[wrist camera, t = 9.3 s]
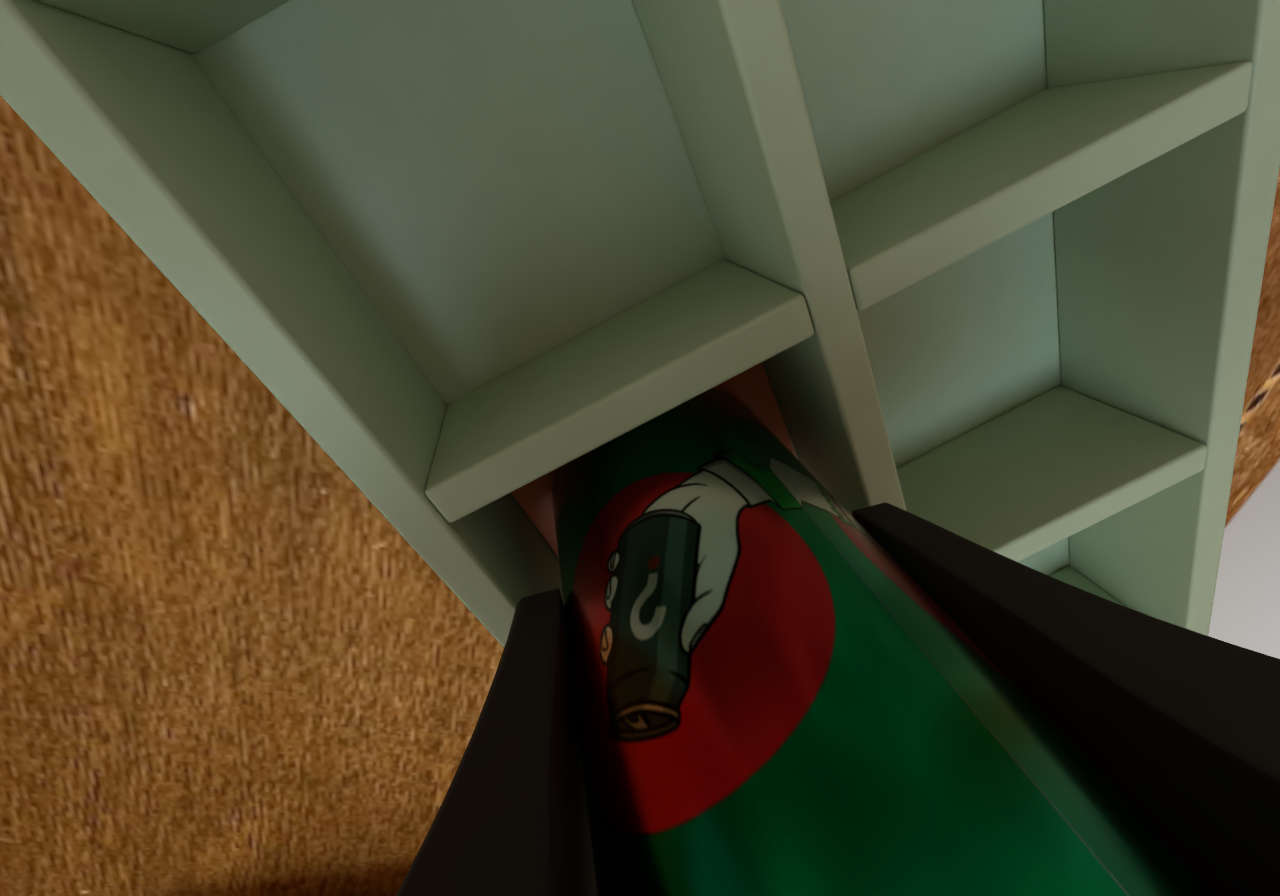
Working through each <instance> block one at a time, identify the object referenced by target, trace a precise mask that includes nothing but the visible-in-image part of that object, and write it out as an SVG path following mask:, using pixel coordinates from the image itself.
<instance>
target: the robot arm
mask: <svg viewBox="0 0 1280 896" xmlns="http://www.w3.org/2000/svg"><path fill="white" fill-rule="evenodd" d="M852 517H853V518H854V519H855V520H856V521H857V522H858V523H859V524H860V525H861V526H862V527H863V528H864V529H865V530H866V531H867V532H868V533H869V534H870V535H871V536H872V537H873V538H874V539H875V541H876V542H877V543H878V544H879V545H880V546H881V547H882V548H883V549H884V550H885V551H886V552H887V553H888V554H889V555H890V556H891V557H892V558H893V559H894V560H895V561H896V562H897V564H898V565H899V566H900V567H901V568H902V569H903V570H904V571H905V572H906V573H907V574H908V575H909V576H910V577H911V578H912V579H913V580H914V581H915V582H916V583H917V584H918V585H919V586H920V588H921V589H922V590H923V591H924V592H925V593H926V594H927V595H928V596H929V597H930V598H931V599H932V600H933V601H934V602H935V603H936V604H937V605H938V606H939V607H940V608H941V609H942V610H943V612H944V613H945V614H946V615H947V616H948V617H949V618H950V619H951V620H952V621H953V622H954V623H955V624H956V625H957V626H958V627H959V628H960V629H961V630H962V631H963V632H964V633H965V635H966V636H967V637H968V638H969V639H970V640H971V641H972V642H973V643H974V644H975V645H976V646H977V647H978V648H979V649H980V650H981V651H982V652H983V653H984V654H985V655H986V656H987V657H988V659H989V660H990V661H991V662H992V663H993V664H994V665H995V666H996V667H997V668H998V669H999V670H1000V671H1001V672H1002V673H1003V674H1004V675H1005V676H1006V677H1007V678H1008V679H1009V680H1010V681H1011V683H1012V684H1013V685H1014V686H1015V687H1016V688H1017V689H1018V690H1019V691H1020V692H1021V693H1022V694H1023V695H1024V696H1025V697H1026V698H1027V699H1028V700H1029V701H1030V702H1031V703H1032V704H1033V706H1034V707H1035V708H1036V709H1037V710H1038V711H1039V712H1040V713H1041V714H1042V715H1043V716H1044V717H1045V718H1046V719H1047V720H1048V721H1049V722H1050V723H1051V724H1052V725H1053V726H1054V727H1055V728H1056V730H1057V731H1058V732H1059V733H1060V734H1061V735H1062V736H1063V737H1064V738H1065V739H1066V740H1067V741H1068V742H1069V743H1070V744H1071V745H1072V746H1073V747H1074V748H1075V749H1076V750H1077V751H1078V752H1079V754H1080V755H1081V756H1082V757H1083V758H1084V759H1085V760H1086V761H1087V762H1088V763H1089V764H1090V765H1091V766H1092V767H1093V768H1094V769H1095V770H1096V771H1097V772H1098V773H1099V774H1100V775H1101V777H1102V778H1103V779H1104V780H1105V781H1106V782H1107V783H1108V784H1109V785H1110V786H1111V787H1112V788H1113V789H1114V790H1115V791H1116V792H1117V793H1118V794H1119V795H1120V796H1121V797H1122V798H1123V799H1124V801H1125V802H1126V803H1127V804H1128V805H1129V806H1130V807H1131V808H1132V809H1133V810H1134V811H1135V812H1136V813H1137V814H1138V815H1139V816H1140V817H1141V818H1142V819H1143V820H1144V821H1145V822H1146V823H1147V825H1148V826H1149V827H1150V828H1151V829H1152V830H1153V831H1154V832H1155V833H1156V834H1157V835H1158V836H1159V837H1160V838H1161V839H1162V840H1163V841H1164V842H1165V843H1166V844H1167V845H1168V846H1169V847H1170V849H1171V850H1172V851H1173V852H1174V853H1175V854H1176V855H1177V856H1178V857H1179V858H1180V859H1181V860H1182V861H1183V862H1184V863H1185V864H1186V865H1187V866H1188V867H1189V868H1190V869H1191V870H1192V872H1193V873H1194V874H1195V875H1196V876H1197V877H1198V878H1199V879H1200V880H1201V881H1202V882H1203V883H1204V884H1205V885H1206V886H1207V887H1208V888H1209V889H1210V890H1211V891H1212V892H1213V893H1214V894H1215V896H1280V659H1277V658H1274V657H1270V656H1267V655H1264V654H1261V653H1258V652H1255V651H1252V650H1248V649H1245V648H1242V647H1239V646H1236V645H1233V644H1230V643H1226V642H1224V641H1221V640H1218V639H1215V638H1212V637H1209V636H1206V635H1203V634H1200V633H1197V632H1195V631H1192V630H1189V629H1186V628H1183V627H1180V626H1177V625H1174V624H1171V623H1169V622H1166V621H1163V620H1160V619H1157V618H1154V617H1151V616H1149V615H1146V614H1143V613H1141V612H1138V611H1135V610H1133V609H1130V608H1127V607H1125V606H1122V605H1119V604H1117V603H1114V602H1112V601H1109V600H1107V599H1104V598H1102V597H1099V596H1097V595H1094V594H1092V593H1089V592H1087V591H1084V590H1082V589H1079V588H1077V587H1075V586H1072V585H1070V584H1067V583H1065V582H1062V581H1060V580H1058V579H1055V578H1053V577H1051V576H1048V575H1046V574H1043V573H1041V572H1039V571H1036V570H1034V569H1032V568H1030V567H1027V566H1025V565H1023V564H1021V563H1018V562H1016V561H1014V560H1012V559H1009V558H1007V557H1005V556H1003V555H1000V554H998V553H996V552H994V551H992V550H989V549H987V548H985V547H983V546H981V545H979V544H976V543H974V542H972V541H970V540H968V539H966V538H964V537H961V536H959V535H957V534H955V533H953V532H951V531H949V530H946V529H944V528H942V527H940V526H938V525H936V524H934V523H931V522H929V521H927V520H925V519H923V518H921V517H918V516H916V515H914V514H912V513H910V512H907V511H905V510H903V509H901V508H898V507H896V506H894V505H891V504H889V503H886V502H884V503H880V504H877V505H873V506H869V507H865V508H861V509H858V510H854V511H852ZM396 896H598V895H597V886H596V878H595V869H594V860H593V852H592V843H591V834H590V826H589V817H588V808H587V800H586V791H585V782H584V774H583V765H582V756H581V748H580V739H579V730H578V722H577V713H576V704H575V695H574V685H573V675H572V664H571V655H570V646H569V638H568V629H567V621H566V612H565V607H564V603H563V600H562V597H561V594H560V590H559V588H557V589H553V590H550V591H546V592H542V593H538V594H534V595H531V596H527V597H523V598H521V599H520V601H519V602H518V604H517V605H516V609H515V613H514V617H513V621H512V624H511V628H510V631H509V635H508V638H507V641H506V644H505V647H504V651H503V654H502V657H501V660H500V663H499V665H498V668H497V671H496V674H495V677H494V680H493V682H492V685H491V688H490V690H489V693H488V696H487V698H486V701H485V704H484V706H483V709H482V712H481V714H480V717H479V720H478V722H477V725H476V727H475V730H474V732H473V735H472V737H471V739H470V742H469V744H468V746H467V748H466V751H465V753H464V755H463V758H462V760H461V762H460V765H459V767H458V769H457V771H456V774H455V776H454V778H453V781H452V783H451V785H450V787H449V790H448V792H447V794H446V796H445V799H444V801H443V803H442V805H441V807H440V809H439V811H438V813H437V815H436V817H435V820H434V822H433V824H432V826H431V828H430V830H429V832H428V834H427V836H426V838H425V840H424V842H423V844H422V846H421V848H420V850H419V852H418V854H417V856H416V858H415V859H414V861H413V863H412V865H411V867H410V869H409V871H408V873H407V875H406V877H405V879H404V881H403V883H402V885H401V886H400V888H399V890H398V892H397V894H396Z"/></svg>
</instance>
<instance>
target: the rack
mask: <svg viewBox="0 0 1280 896" xmlns="http://www.w3.org/2000/svg"><path fill="white" fill-rule="evenodd" d="M0 95H1V96H2V97H3V98H4V99H5V101H6V102H7V103H8V104H9V105H10V106H11V107H12V108H13V109H14V110H15V112H16V113H17V114H18V115H19V116H20V117H21V118H22V119H23V120H24V121H25V123H26V124H27V125H28V126H29V127H30V128H31V129H32V130H33V131H34V132H35V134H36V135H37V136H38V137H39V138H40V139H41V140H42V141H43V142H44V143H45V145H46V146H47V147H48V148H49V149H50V150H51V151H52V152H53V153H54V154H55V155H56V157H57V158H58V159H59V160H60V161H61V162H62V163H63V164H64V165H65V166H66V168H67V169H68V170H69V171H70V172H71V173H72V174H73V175H74V176H75V177H76V179H77V180H78V181H79V182H80V183H81V184H82V185H83V186H84V187H85V188H86V190H87V191H88V192H89V193H90V194H91V195H92V196H93V197H94V198H95V199H96V200H97V202H98V203H99V204H100V205H101V206H102V207H103V208H104V209H105V210H106V211H107V213H108V214H109V215H110V216H111V217H112V218H113V219H114V220H115V221H116V222H117V224H118V225H119V226H120V227H121V228H122V229H123V230H124V231H125V232H126V233H127V235H128V236H129V237H130V238H131V239H132V240H133V241H134V242H135V243H136V244H137V245H138V247H139V248H140V249H141V250H142V251H143V252H144V253H145V254H146V255H147V256H148V258H149V259H150V260H151V261H152V262H153V263H154V264H155V265H156V266H157V267H158V269H159V270H160V271H161V272H162V273H163V274H164V275H165V276H166V277H167V278H168V280H169V281H170V282H171V283H172V284H173V285H174V286H175V287H176V288H177V289H178V291H179V292H180V293H181V294H182V295H183V296H184V297H185V298H186V299H187V300H188V301H189V303H190V304H191V305H192V306H193V307H194V308H195V309H196V310H197V311H198V312H199V314H200V315H201V316H202V317H203V318H204V319H205V320H206V321H207V322H208V323H209V325H210V326H211V327H212V328H213V329H214V330H215V331H216V332H217V333H218V334H219V336H220V337H221V338H222V339H223V340H224V341H225V342H226V343H227V344H228V345H229V346H230V348H231V349H232V350H233V351H234V352H235V353H236V354H237V355H238V356H239V357H240V359H241V360H242V361H243V362H244V363H245V364H246V365H247V366H248V367H249V368H250V370H251V371H252V372H253V373H254V374H255V375H256V376H257V377H258V378H259V379H260V381H261V382H262V383H263V384H264V385H265V386H266V387H267V388H268V389H269V390H270V391H271V393H272V394H273V395H274V396H275V397H276V398H277V399H278V400H279V401H280V402H281V404H282V405H283V406H284V407H285V408H286V409H287V410H288V411H289V412H290V413H291V415H292V416H293V417H294V418H295V419H296V420H297V421H298V422H299V423H300V424H301V426H302V427H303V428H304V429H305V430H306V431H307V432H308V433H309V434H310V435H311V437H312V438H313V439H314V440H315V441H316V442H317V443H318V444H319V445H320V446H321V447H322V449H323V450H324V451H325V452H326V453H327V454H328V455H329V456H330V457H331V458H332V460H333V461H334V462H335V463H336V464H337V465H338V466H339V467H340V468H341V469H342V471H343V472H344V473H345V474H346V475H347V476H348V477H349V478H350V479H351V480H352V482H353V483H354V484H355V485H356V486H357V487H358V488H359V489H360V490H361V491H362V492H363V494H364V495H365V496H366V497H367V498H368V499H369V500H370V501H371V502H372V503H373V505H374V506H375V507H376V508H377V509H378V510H379V511H380V512H381V513H382V514H383V516H384V517H385V518H386V519H387V520H388V521H389V522H390V523H391V524H392V525H393V527H394V528H395V529H396V530H397V531H398V532H399V533H400V534H401V535H402V536H403V538H404V539H405V540H406V541H407V542H408V543H409V544H410V545H411V546H412V547H413V548H414V550H415V551H416V552H417V553H418V554H419V555H420V556H421V557H422V558H423V559H424V561H425V562H426V563H427V564H428V565H429V566H430V567H431V568H432V569H433V570H434V572H435V573H436V574H437V575H438V576H439V577H440V578H441V579H442V580H443V581H444V583H445V584H446V585H447V586H448V587H449V588H450V589H451V590H452V591H453V592H454V593H455V595H456V596H457V597H458V598H459V599H460V600H461V601H462V602H463V603H464V604H465V606H466V607H467V608H468V609H469V610H470V611H471V612H472V613H473V614H474V615H475V617H476V618H477V619H478V620H479V621H480V622H481V623H482V624H483V625H484V626H485V628H486V629H487V630H488V631H489V632H490V633H491V634H492V635H493V636H494V637H495V638H496V640H497V641H498V642H499V643H500V644H501V645H502V646H503V647H505V644H506V641H507V638H508V635H509V631H510V628H511V624H512V621H513V617H514V613H515V609H516V605H517V604H518V602H519V601H520V599H521V598H523V597H527V596H531V595H534V594H538V593H542V592H546V591H550V590H553V589H557V588H559V590H560V594H561V597H562V600H563V592H562V583H561V575H560V566H559V557H558V549H557V540H556V531H555V523H554V514H553V502H552V490H553V481H554V476H555V473H556V469H557V468H559V467H560V466H562V465H564V464H566V463H568V462H570V461H572V460H574V459H576V458H578V457H580V456H582V455H584V454H586V453H587V452H589V451H591V450H593V449H595V448H597V447H599V446H601V445H603V444H605V443H607V442H609V441H611V440H612V439H614V438H616V437H618V436H620V435H622V434H624V433H626V432H628V431H630V430H632V429H634V428H636V427H638V426H639V425H641V424H643V423H645V422H647V421H649V420H651V419H653V418H655V417H657V416H659V415H661V414H663V413H665V412H666V411H668V410H670V409H672V408H674V407H676V406H678V405H680V404H682V403H684V402H686V401H688V400H690V399H692V398H693V397H695V396H697V395H699V394H701V393H703V392H705V391H707V390H709V389H711V388H714V389H717V390H720V391H722V392H724V393H726V394H728V395H730V396H733V397H734V398H736V399H737V400H738V401H740V402H741V403H743V404H744V405H746V406H747V407H748V408H749V409H750V410H751V411H752V412H753V413H754V414H755V415H756V416H757V417H758V418H759V419H760V420H761V422H762V423H763V424H764V425H765V426H766V427H767V428H768V429H769V430H770V431H771V432H772V433H773V434H774V435H775V436H776V437H777V438H778V439H779V440H780V441H781V442H782V443H783V444H784V446H785V447H786V448H787V449H788V450H789V451H790V452H791V453H792V454H793V455H794V456H795V457H796V458H797V459H798V460H799V461H800V462H801V463H802V464H803V465H804V466H805V467H806V468H807V470H808V471H809V472H810V473H811V474H812V475H813V476H814V477H815V478H816V479H817V480H818V481H819V482H820V483H821V484H822V485H823V486H824V487H825V488H826V489H827V490H828V491H829V493H830V494H831V495H832V496H833V497H834V498H835V499H836V500H837V501H838V502H839V503H840V504H841V505H842V506H843V507H844V508H845V509H846V510H847V511H848V512H849V513H850V514H851V515H852V511H854V510H858V509H861V508H865V507H869V506H873V505H877V504H880V503H884V502H886V503H889V504H891V505H894V506H896V507H898V508H901V509H903V510H905V511H907V512H910V513H912V514H914V515H916V516H918V517H921V518H923V519H925V520H927V521H929V522H931V523H934V524H936V525H938V526H940V527H942V528H944V529H946V530H949V531H951V532H953V533H955V534H957V535H959V536H961V537H964V538H966V539H968V540H970V541H972V542H974V543H976V544H979V545H981V546H983V547H985V548H987V549H989V550H992V551H994V552H996V553H998V554H1000V555H1003V556H1005V557H1007V558H1009V559H1012V560H1014V561H1016V562H1018V563H1021V564H1023V565H1025V566H1027V567H1030V568H1032V569H1034V570H1036V571H1039V572H1041V573H1043V574H1046V575H1048V576H1051V577H1053V578H1055V579H1058V580H1060V581H1062V582H1065V583H1067V584H1070V585H1072V586H1075V587H1077V588H1079V589H1082V590H1084V591H1087V592H1089V593H1092V594H1094V595H1097V596H1099V597H1102V598H1104V599H1107V600H1109V601H1112V602H1114V603H1117V604H1119V605H1122V606H1125V607H1127V608H1130V609H1133V610H1135V611H1138V612H1141V613H1143V614H1146V615H1149V616H1151V617H1154V618H1157V619H1160V620H1163V621H1166V622H1169V623H1171V624H1174V625H1177V626H1180V627H1183V628H1186V629H1189V630H1192V631H1195V632H1197V633H1200V634H1203V635H1206V636H1208V633H1209V625H1210V619H1211V613H1212V606H1213V600H1214V593H1215V587H1216V580H1217V574H1218V567H1219V561H1220V554H1221V548H1222V541H1223V535H1224V528H1225V522H1226V515H1227V508H1228V502H1229V495H1230V489H1231V482H1232V476H1233V469H1234V463H1235V456H1236V450H1237V443H1238V436H1239V430H1240V423H1241V417H1242V410H1243V404H1244V397H1245V391H1246V384H1247V377H1248V371H1249V364H1250V358H1251V351H1252V345H1253V338H1254V332H1255V325H1256V319H1257V312H1258V305H1259V299H1260V292H1261V286H1262V279H1263V273H1264V266H1265V260H1266V253H1267V246H1268V240H1269V233H1270V227H1271V220H1272V214H1273V207H1274V201H1275V194H1276V188H1277V181H1278V174H1279V168H1280V0H0ZM563 603H564V601H563Z"/></svg>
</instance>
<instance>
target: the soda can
mask: <svg viewBox="0 0 1280 896" xmlns="http://www.w3.org/2000/svg"><path fill="white" fill-rule="evenodd" d="M552 502H553V514H554V523H555V531H556V540H557V549H558V557H559V566H560V575H561V583H562V592H563V601H564V607H565V612H566V621H567V629H568V638H569V646H570V655H571V664H572V675H573V685H574V695H575V704H576V713H577V722H578V730H579V739H580V748H581V756H582V765H583V774H584V782H585V791H586V800H587V808H588V817H589V826H590V834H591V843H592V852H593V860H594V869H595V878H596V886H597V895H598V896H1215V894H1214V893H1213V892H1212V891H1211V890H1210V889H1209V888H1208V887H1207V886H1206V885H1205V884H1204V883H1203V882H1202V881H1201V880H1200V879H1199V878H1198V877H1197V876H1196V875H1195V874H1194V873H1193V872H1192V870H1191V869H1190V868H1189V867H1188V866H1187V865H1186V864H1185V863H1184V862H1183V861H1182V860H1181V859H1180V858H1179V857H1178V856H1177V855H1176V854H1175V853H1174V852H1173V851H1172V850H1171V849H1170V847H1169V846H1168V845H1167V844H1166V843H1165V842H1164V841H1163V840H1162V839H1161V838H1160V837H1159V836H1158V835H1157V834H1156V833H1155V832H1154V831H1153V830H1152V829H1151V828H1150V827H1149V826H1148V825H1147V823H1146V822H1145V821H1144V820H1143V819H1142V818H1141V817H1140V816H1139V815H1138V814H1137V813H1136V812H1135V811H1134V810H1133V809H1132V808H1131V807H1130V806H1129V805H1128V804H1127V803H1126V802H1125V801H1124V799H1123V798H1122V797H1121V796H1120V795H1119V794H1118V793H1117V792H1116V791H1115V790H1114V789H1113V788H1112V787H1111V786H1110V785H1109V784H1108V783H1107V782H1106V781H1105V780H1104V779H1103V778H1102V777H1101V775H1100V774H1099V773H1098V772H1097V771H1096V770H1095V769H1094V768H1093V767H1092V766H1091V765H1090V764H1089V763H1088V762H1087V761H1086V760H1085V759H1084V758H1083V757H1082V756H1081V755H1080V754H1079V752H1078V751H1077V750H1076V749H1075V748H1074V747H1073V746H1072V745H1071V744H1070V743H1069V742H1068V741H1067V740H1066V739H1065V738H1064V737H1063V736H1062V735H1061V734H1060V733H1059V732H1058V731H1057V730H1056V728H1055V727H1054V726H1053V725H1052V724H1051V723H1050V722H1049V721H1048V720H1047V719H1046V718H1045V717H1044V716H1043V715H1042V714H1041V713H1040V712H1039V711H1038V710H1037V709H1036V708H1035V707H1034V706H1033V704H1032V703H1031V702H1030V701H1029V700H1028V699H1027V698H1026V697H1025V696H1024V695H1023V694H1022V693H1021V692H1020V691H1019V690H1018V689H1017V688H1016V687H1015V686H1014V685H1013V684H1012V683H1011V681H1010V680H1009V679H1008V678H1007V677H1006V676H1005V675H1004V674H1003V673H1002V672H1001V671H1000V670H999V669H998V668H997V667H996V666H995V665H994V664H993V663H992V662H991V661H990V660H989V659H988V657H987V656H986V655H985V654H984V653H983V652H982V651H981V650H980V649H979V648H978V647H977V646H976V645H975V644H974V643H973V642H972V641H971V640H970V639H969V638H968V637H967V636H966V635H965V633H964V632H963V631H962V630H961V629H960V628H959V627H958V626H957V625H956V624H955V623H954V622H953V621H952V620H951V619H950V618H949V617H948V616H947V615H946V614H945V613H944V612H943V610H942V609H941V608H940V607H939V606H938V605H937V604H936V603H935V602H934V601H933V600H932V599H931V598H930V597H929V596H928V595H927V594H926V593H925V592H924V591H923V590H922V589H921V588H920V586H919V585H918V584H917V583H916V582H915V581H914V580H913V579H912V578H911V577H910V576H909V575H908V574H907V573H906V572H905V571H904V570H903V569H902V568H901V567H900V566H899V565H898V564H897V562H896V561H895V560H894V559H893V558H892V557H891V556H890V555H889V554H888V553H887V552H886V551H885V550H884V549H883V548H882V547H881V546H880V545H879V544H878V543H877V542H876V541H875V539H874V538H873V537H872V536H871V535H870V534H869V533H868V532H867V531H866V530H865V529H864V528H863V527H862V526H861V525H860V524H859V523H858V522H857V521H856V520H855V519H854V518H853V517H852V515H851V514H850V513H849V512H848V511H847V510H846V509H845V508H844V507H843V506H842V505H841V504H840V503H839V502H838V501H837V500H836V499H835V498H834V497H833V496H832V495H831V494H830V493H829V491H828V490H827V489H826V488H825V487H824V486H823V485H822V484H821V483H820V482H819V481H818V480H817V479H816V478H815V477H814V476H813V475H812V474H811V473H810V472H809V471H808V470H807V468H806V467H805V466H804V465H803V464H802V463H801V462H800V461H799V460H798V459H797V458H796V457H795V456H794V455H793V454H792V453H791V452H790V451H789V450H788V449H787V448H786V447H785V446H784V444H783V443H782V442H781V441H780V440H779V439H778V438H777V437H776V436H775V435H774V434H773V433H772V432H771V431H770V430H769V429H768V428H767V427H766V426H765V425H764V424H763V423H762V422H761V420H760V419H759V418H758V417H757V416H756V415H755V414H754V413H753V412H752V411H751V410H750V409H749V408H748V407H747V406H746V405H744V404H743V403H741V402H740V401H738V400H737V399H736V398H734V397H733V396H730V395H728V394H726V393H724V392H722V391H720V390H717V389H714V388H711V389H709V390H707V391H705V392H703V393H701V394H699V395H697V396H695V397H693V398H692V399H690V400H688V401H686V402H684V403H682V404H680V405H678V406H676V407H674V408H672V409H670V410H668V411H666V412H665V413H663V414H661V415H659V416H657V417H655V418H653V419H651V420H649V421H647V422H645V423H643V424H641V425H639V426H638V427H636V428H634V429H632V430H630V431H628V432H626V433H624V434H622V435H620V436H618V437H616V438H614V439H612V440H611V441H609V442H607V443H605V444H603V445H601V446H599V447H597V448H595V449H593V450H591V451H589V452H587V453H586V454H584V455H582V456H580V457H578V458H576V459H574V460H572V461H570V462H568V463H566V464H564V465H562V466H560V467H559V468H557V469H556V473H555V476H554V481H553V490H552Z"/></svg>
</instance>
